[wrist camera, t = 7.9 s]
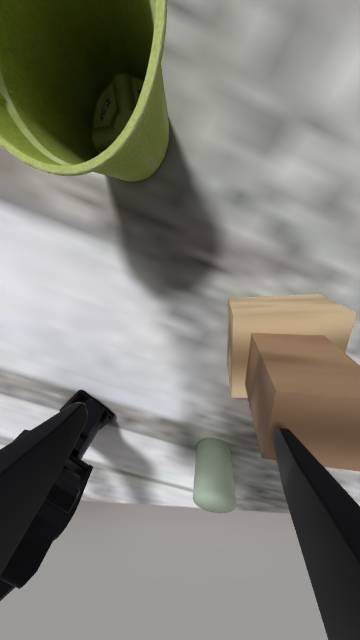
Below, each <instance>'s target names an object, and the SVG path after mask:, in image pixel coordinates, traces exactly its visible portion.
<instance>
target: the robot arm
mask: <svg viewBox="0 0 360 640" xmlns="http://www.w3.org/2000/svg"><path fill="white" fill-rule="evenodd" d="M113 418H114V414H113V413H112V412H110V411H109V410H108V409H106V408H105V407H104V406H102V405H101V404H100V403H98V402H97V401H96V400H94V399H93V398H92V397H91V396H89V395H88V394H87V393H85V392H84V391H82V390H78V391H77V392H76V394H75V395H74V396H73V397H72V398H71V399H70V400H69V401H68V402H67V403H66V404H65V405H64V406H63V407H62V408H61V409H60V412H59V413H58V414H56V415H54V416H53V417H51V418H50V419H48V420H47V421H45V422H43V423H42V424H40V425H39V426H37V427H35V428H34V429H32V430H30V431H29V430H24V431H23V432H22V433H21V434H20V435H19V436H18V437H17V438H16V439H15V440H14V441H13V442H12V443H10V444H8V445H7V446H5V447H4V448H2V449H1V450H0V601H1V600H2V599H3V598H4V597H5V596H6V595H7V594H8V593H9V592H11V591H12V590H13V589H14V588H15V587H17V588H19V589H20V588H21V587H23V586H24V585H25V584H26V583H27V581H28V580H29V579H30V578H31V577H32V576H33V575H34V574H35V573H36V572H37V570H38V568H39V566H40V564H41V563H42V561H43V559H44V557H45V555H46V553H47V551H48V549H49V547H50V546H51V544H52V542H53V541H54V540H55V539H56V538H58V537H59V535H60V534H61V533H62V532H63V530H64V529H65V528H66V526H67V525H68V523H69V521H70V520H71V518H72V516H73V515H74V513H75V511H76V509H77V506H78V504H79V502H80V499H81V497H82V494H83V492H84V489H85V487H86V484H87V481H88V479H89V476H90V474H91V471H92V469H93V466H91V465H88V464H87V463H85V462H84V461H82V460H81V459H82V457H83V455H84V454H85V452H86V450H87V449H88V447H89V445H90V444H91V442H92V440H93V439H94V437H95V435H96V434H97V432H98V430H100V429H101V428H102V427H103V426H105V425H106V424H107V423H109V422H110V421H111V420H112V419H113ZM274 447H275V452H276V457H277V462H278V467H279V471H280V476H281V481H282V486H283V490H284V493H285V497H286V500H287V504H288V507H289V510H290V514H291V517H292V520H293V524H294V527H295V530H296V534H297V537H298V540H299V544H300V547H301V550H302V554H303V557H304V560H305V563H306V567H307V570H308V573H309V577H310V580H311V583H312V587H313V590H314V593H315V597H316V600H317V603H318V607H319V610H320V613H321V616H322V620H323V623H324V627H325V630H326V633H327V637H328V640H360V506H359V505H358V504H357V503H356V502H355V501H354V500H353V498H352V497H351V496H350V495H349V494H348V493H347V492H346V491H345V490H344V489H343V488H342V486H341V485H340V484H339V483H338V482H337V481H336V480H335V479H334V478H333V477H332V475H331V474H330V473H329V472H328V471H327V470H326V469H325V468H324V467H323V466H322V465H321V463H320V462H319V461H318V460H317V459H316V458H315V457H314V456H313V455H312V454H311V452H310V451H309V450H308V449H307V448H306V447H305V446H304V445H303V444H302V443H301V442H300V440H299V439H298V438H297V437H296V436H295V435H294V434H293V433H292V432H291V431H290V430H289V429H287V428H278V429H277V432H276V435H275V439H274Z"/></svg>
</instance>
